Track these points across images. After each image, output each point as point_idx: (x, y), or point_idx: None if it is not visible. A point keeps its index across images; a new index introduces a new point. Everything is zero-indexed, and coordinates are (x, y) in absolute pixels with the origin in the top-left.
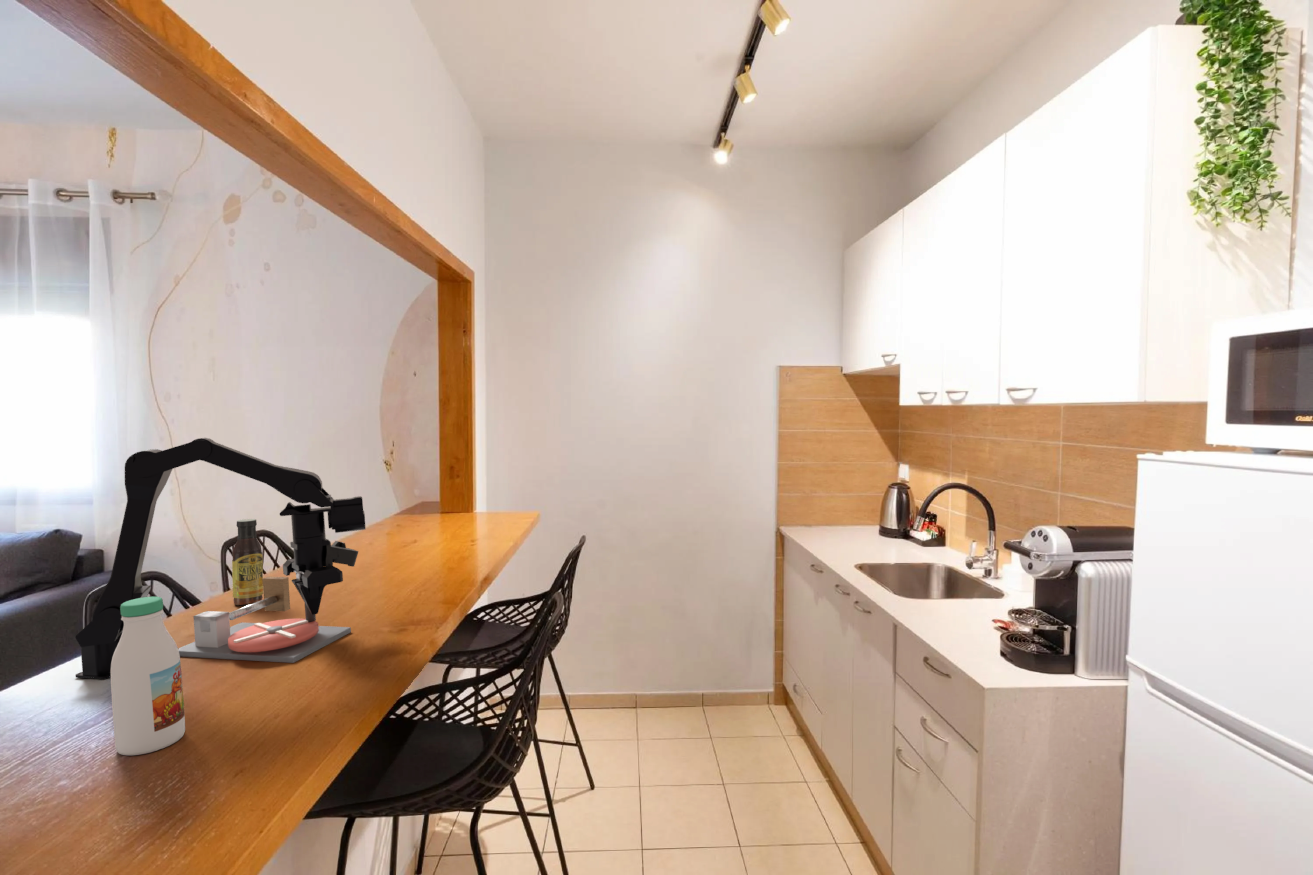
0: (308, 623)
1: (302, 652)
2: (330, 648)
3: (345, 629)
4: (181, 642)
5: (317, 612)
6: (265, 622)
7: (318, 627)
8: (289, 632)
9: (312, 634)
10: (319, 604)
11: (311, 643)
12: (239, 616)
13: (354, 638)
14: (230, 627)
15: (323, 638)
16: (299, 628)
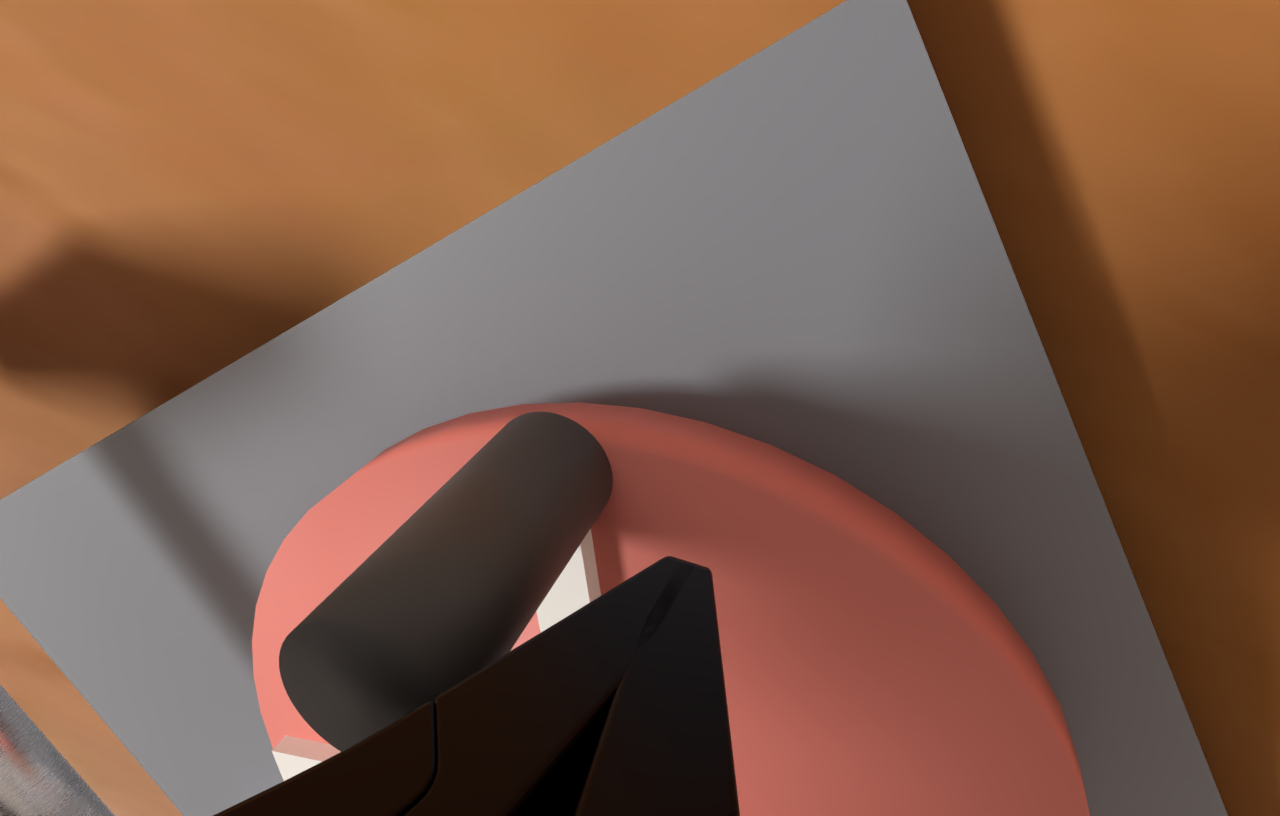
0: (649, 547)
1: (1224, 808)
2: (1261, 489)
3: (920, 88)
4: (107, 783)
5: (710, 583)
6: (258, 683)
7: (837, 502)
8: (801, 809)
9: (1033, 673)
10: (723, 685)
11: (1022, 615)
12: (81, 787)
13: (1251, 89)
14: (28, 622)
15: (989, 461)
16: (753, 694)
